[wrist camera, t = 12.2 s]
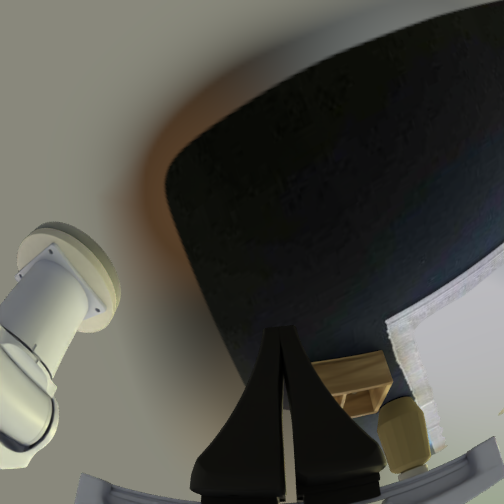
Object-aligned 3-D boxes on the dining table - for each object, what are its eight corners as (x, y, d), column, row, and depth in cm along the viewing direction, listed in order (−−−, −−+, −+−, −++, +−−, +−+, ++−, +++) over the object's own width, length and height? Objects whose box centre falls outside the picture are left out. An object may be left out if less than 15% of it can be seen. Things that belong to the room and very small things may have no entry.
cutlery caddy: (294, 364, 28) (298, 398, 24) (382, 349, 27) (393, 381, 24) (296, 397, 32) (298, 426, 29) (370, 385, 32) (377, 412, 28)
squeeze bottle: (375, 419, 39) (392, 506, 24) (369, 405, 35) (390, 508, 20) (417, 402, 37) (440, 488, 22) (417, 385, 33) (447, 485, 18)
